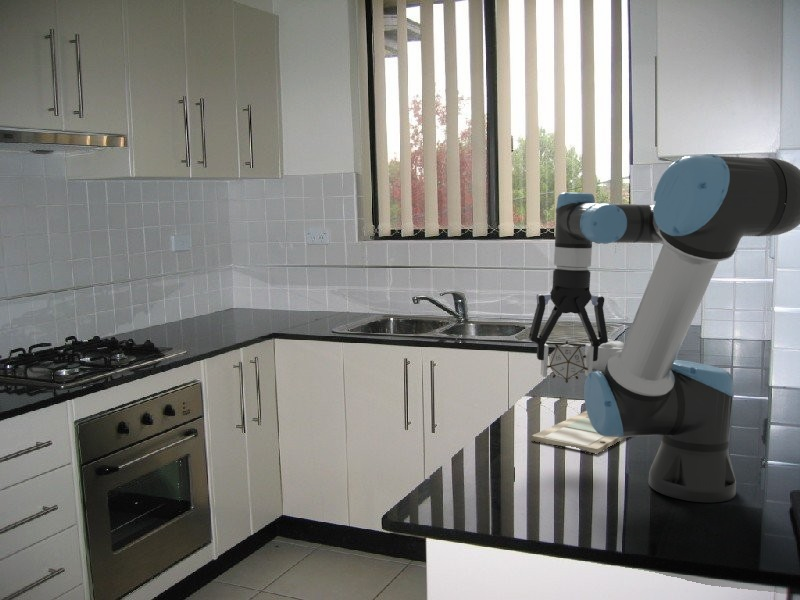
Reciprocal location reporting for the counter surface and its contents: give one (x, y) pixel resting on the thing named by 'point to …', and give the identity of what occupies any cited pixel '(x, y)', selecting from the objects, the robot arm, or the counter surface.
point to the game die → (566, 361)
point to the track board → (576, 435)
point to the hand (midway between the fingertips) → (566, 375)
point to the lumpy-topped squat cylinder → (605, 353)
